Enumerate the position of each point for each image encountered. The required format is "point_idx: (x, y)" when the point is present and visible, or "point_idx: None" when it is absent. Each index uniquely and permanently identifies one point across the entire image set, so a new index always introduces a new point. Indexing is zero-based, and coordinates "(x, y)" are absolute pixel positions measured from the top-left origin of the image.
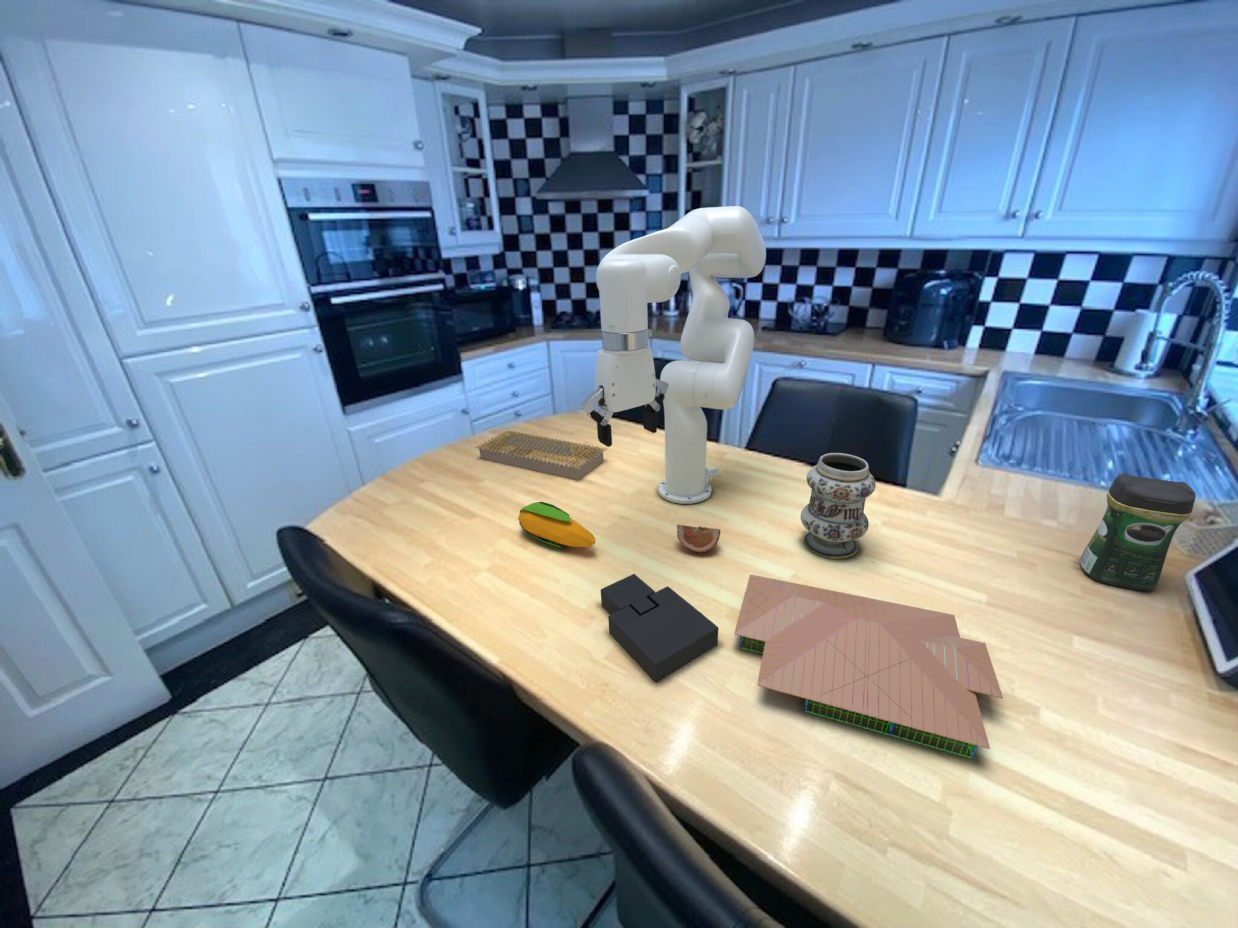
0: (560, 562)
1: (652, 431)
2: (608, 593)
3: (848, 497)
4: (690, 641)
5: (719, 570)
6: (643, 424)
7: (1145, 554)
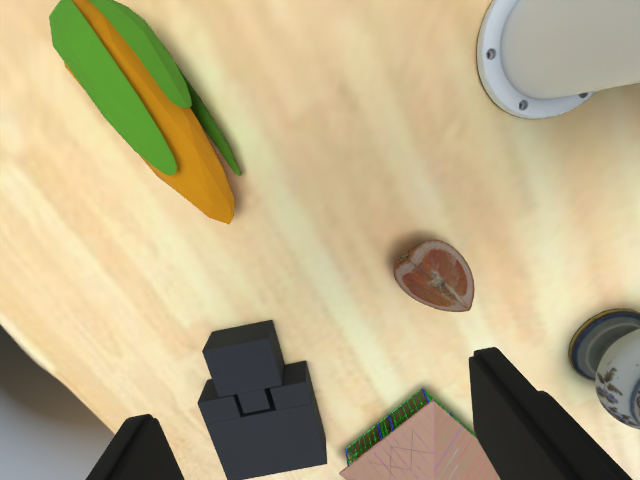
0: (168, 200)
1: (477, 436)
2: (211, 364)
3: None
4: (282, 470)
5: (415, 331)
6: (483, 374)
7: None
